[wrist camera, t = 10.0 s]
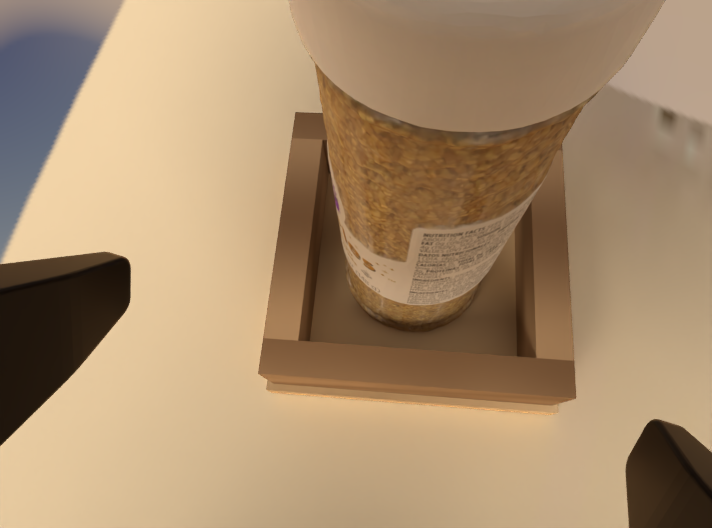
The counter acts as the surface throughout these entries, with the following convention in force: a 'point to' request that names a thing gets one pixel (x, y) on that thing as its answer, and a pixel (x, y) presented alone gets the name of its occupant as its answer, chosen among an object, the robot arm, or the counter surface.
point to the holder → (417, 349)
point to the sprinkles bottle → (449, 130)
